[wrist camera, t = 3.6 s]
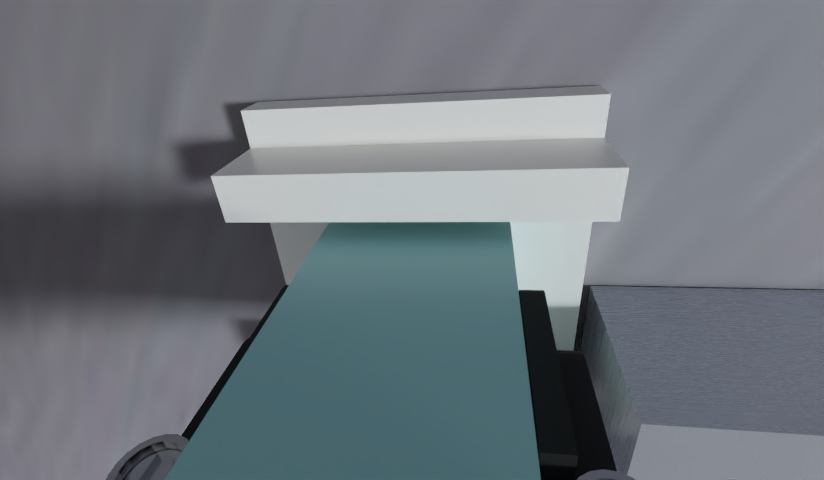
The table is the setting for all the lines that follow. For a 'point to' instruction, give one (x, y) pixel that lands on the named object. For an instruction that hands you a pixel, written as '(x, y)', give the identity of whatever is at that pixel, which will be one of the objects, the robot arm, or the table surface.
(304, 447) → the plug
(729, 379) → the port
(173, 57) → the table surface
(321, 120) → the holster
